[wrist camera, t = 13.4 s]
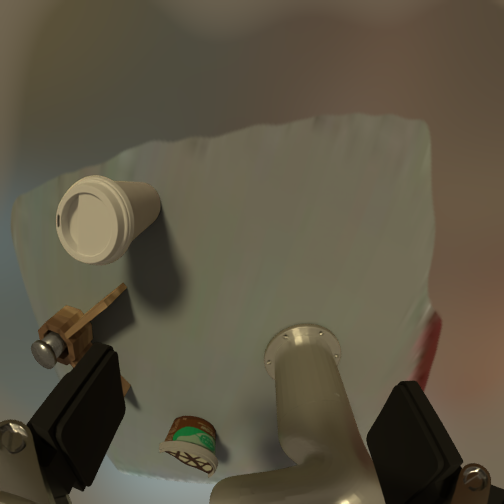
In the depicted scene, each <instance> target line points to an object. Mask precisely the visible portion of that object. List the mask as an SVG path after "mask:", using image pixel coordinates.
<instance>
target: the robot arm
mask: <svg viewBox="0 0 504 504" xmlns="http://www.w3.org/2000/svg"><path fill="white" fill-rule="evenodd" d="M320 331H321V332H320ZM285 334H286V335H285ZM340 358H341V348H340V344H339V342H338V340H337V338H336V337H335V335H334V334H333V333H332V332H331V331H329V330H328V329H326V328H324V327H322V326H319V325H314V324H300V325H294V326H291V327H288V328H286V329H284V330H282V331H281V332H279V333H278V334H277V335H275V336H274V337H273V338H272V340H271V341H270V342H269V344H268V345H267V347H266V350H265V355H264V364H265V367H266V370H267V372H268V374H269V375H270V376H271V377H272V378H273V379H274V380H275V387H276V406H277V425H278V438H279V443H280V445H281V447H282V449H283V451H284V452H285V453H286V455H287V456H288V457H289V458H290V459H291V460H293V461H294V462H295V463H296V464H298V465H296V466H292V467H288V468H284V469H278V470H272V471H266V472H259V473H251V474H244V475H237V476H232V477H228V478H225V479H223V480H221V481H219V482H218V483H217V484H216V485H215V486H214V488H213V490H212V492H211V495H210V502H209V504H504V489H501V488H498V487H496V486H493V485H491V477H490V474H489V472H488V471H487V469H486V468H484V467H483V466H481V465H480V464H476V463H471V464H467V465H465V466H464V467H463V468H461V466H460V465H461V464H462V463H463V460H462V458H461V456H460V454H459V452H458V450H457V449H456V447H455V445H454V443H453V442H452V440H451V438H450V436H449V434H448V433H447V431H446V429H445V427H444V426H443V424H442V422H441V421H440V419H439V417H438V415H437V414H436V412H435V411H434V409H433V407H432V405H431V404H430V402H429V400H428V399H427V397H426V395H425V394H424V392H423V391H422V389H421V387H420V386H419V384H418V383H417V382H416V381H401V382H400V383H399V384H398V385H396V386H395V387H394V388H393V390H392V392H391V394H390V396H389V398H388V400H387V401H386V403H385V405H384V407H383V409H382V410H381V412H380V414H379V416H378V417H377V419H376V421H375V422H374V424H373V426H372V427H371V429H370V431H369V432H368V434H367V438H366V441H367V445H368V448H369V451H370V454H371V457H372V459H371V457H370V455H369V453H368V451H367V449H366V447H365V445H364V443H363V440H362V438H361V435H360V433H359V430H358V427H357V424H356V421H355V418H354V415H353V412H352V409H351V406H350V403H349V400H348V397H347V394H346V391H345V388H344V385H343V382H342V379H341V376H340V373H339V370H338V368H337V366H338V364H339V362H340ZM125 409H126V407H125V401H124V395H123V389H122V382H121V375H120V368H119V360H118V354H117V352H115V351H114V350H113V347H112V346H109V345H106V344H102V343H99V342H95V343H94V344H93V345H92V346H91V347H90V349H89V350H88V351H87V352H86V353H85V355H84V356H83V357H82V358H81V359H80V361H79V362H78V363H77V364H76V366H75V367H74V368H73V369H72V370H71V372H69V373H67V374H66V375H65V376H64V377H63V378H62V379H61V381H60V382H59V383H58V385H57V386H56V387H55V388H54V389H53V391H52V392H51V393H50V395H49V396H48V397H47V398H46V400H45V401H44V402H43V404H42V405H41V406H40V407H39V409H38V410H37V411H36V413H35V414H34V415H33V417H32V418H31V419H30V421H29V422H28V423H27V425H25V424H23V423H22V422H20V421H17V420H5V421H2V422H0V504H72V502H71V500H70V497H69V495H68V494H69V493H70V491H71V489H72V487H74V488H76V489H78V490H81V491H84V489H85V487H86V486H88V487H89V486H91V485H92V483H93V480H94V478H95V476H96V474H97V472H98V469H99V467H100V465H101V463H102V461H103V459H104V457H105V454H106V452H107V450H108V448H109V446H110V444H111V442H112V440H113V437H114V435H115V433H116V431H117V429H118V427H119V425H120V423H121V421H122V419H123V417H124V414H125ZM372 460H373V461H372Z"/></svg>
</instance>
